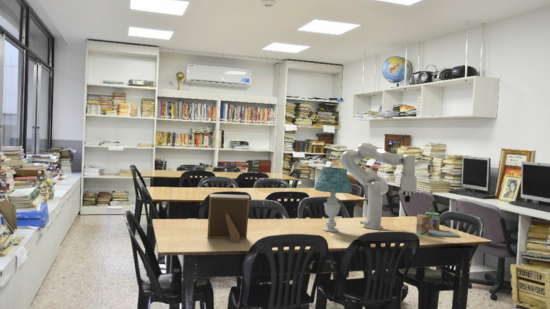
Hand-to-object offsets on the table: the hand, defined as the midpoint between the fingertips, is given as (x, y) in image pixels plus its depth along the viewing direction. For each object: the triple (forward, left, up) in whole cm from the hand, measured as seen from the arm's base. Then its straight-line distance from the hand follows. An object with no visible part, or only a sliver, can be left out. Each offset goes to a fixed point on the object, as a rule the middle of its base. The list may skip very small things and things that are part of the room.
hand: (407, 201), depth 303 cm
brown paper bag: (+12, 0, -21) cm, 24 cm away
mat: (+25, 0, -21) cm, 32 cm away
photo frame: (-115, -35, -21) cm, 122 cm away
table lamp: (-49, 0, -21) cm, 53 cm away
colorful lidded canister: (+25, +15, -21) cm, 36 cm away
